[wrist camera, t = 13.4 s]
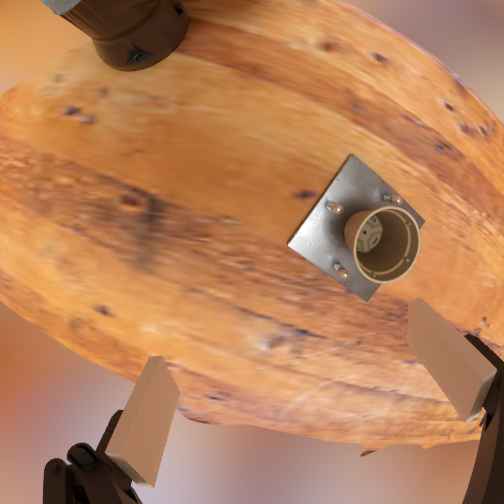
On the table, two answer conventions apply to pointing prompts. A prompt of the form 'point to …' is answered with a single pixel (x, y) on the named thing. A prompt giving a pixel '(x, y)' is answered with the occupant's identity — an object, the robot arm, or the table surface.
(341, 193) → the plate
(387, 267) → the flower pot
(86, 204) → the table surface
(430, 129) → the table surface
